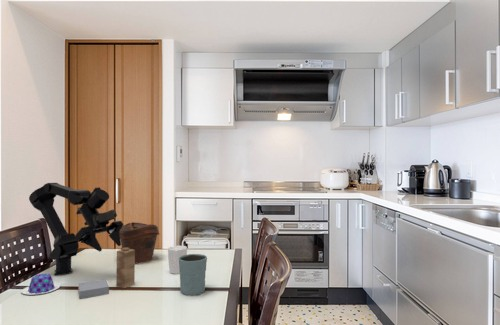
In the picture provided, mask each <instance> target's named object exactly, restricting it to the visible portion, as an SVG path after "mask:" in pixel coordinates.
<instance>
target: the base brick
mask: <svg viewBox="0 0 500 325" xmlns="http://www.w3.org/2000/svg"><path fill="white" fill-rule="evenodd" d="M109 292H110V286H109V284H108V280H107V279H106V278H103V279H98V280H89V281H84V282H78V297H79V299H88V298H93V297H99V296H104V295H109Z"/></svg>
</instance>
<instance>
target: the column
mask: <svg viewBox="0 0 500 325" xmlns="http://www.w3.org/2000/svg"><path fill="white" fill-rule="evenodd" d="M121 248H122V247H121ZM135 267H136V266H135V250H133V249H129V248H128V247H126V248H122V250H121V249H120V250H117V251H116V272H115V273H116V279H115V280H116V282H115V283H116V285H115V286H116V287H118V288H122V289H123V288H124V289H127V288H128V287H131V286H134V285H135V283H136V282H135V279H136V278H135V276H136V275H135V273H136V270H135Z"/></svg>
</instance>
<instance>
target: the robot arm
mask: <svg viewBox="0 0 500 325" xmlns="http://www.w3.org/2000/svg"><path fill="white" fill-rule="evenodd" d="M57 196H58V197H62V198H63V199H67V201H68V202H69V203H70V204H71V205H73V206H78V205H79V206H80V207H77V209H76V213H75V214H76V215H81V216H82V217H83V219H84V221H85V222H84V226H83V227H80V229H79V230H78V231H77V232H76V234H75V233H74V232H72V233H68V232H67V230H66V227H65V226H64V224H63V222H62V221H61V218H60V217H59V214H58V212H57V211H56V209H55V207H54V202H55V198H56V197H57ZM109 199H110V194H109V193H108V192H107V191H105V190H103V189H101V187H98V186H97V187H94V189H93V190H92V192H91V191H90V190H88V189H76V188H72V187H69V186H66V185H62V184H60V183H58V182H47V183H45V184H43V186H41V187H38V188H36V189H35V190H34V191H32V192H31V194H30V195H29V197H28V200H29V202H30V205H32V207H33V208H34V209H35V210H37V211H39V212H40V213H41V215H42V217H43V218H44V220H45V222H46V225H47V227H48V228H49V231H50V232H51V235H52V236H53V238H54V240H53V244H52V246H53V249H52V250H51V251H50V253H49V259H50V260H52V261H55V269H54V273H53V275H54V276H58V275H66V274H73V267H72V257H76V256H77V253H78V251H79V248H80V246H79V242H80V243H81V244H84V245H87V246H89V247H91V248H93V249H94V250H96V251H98V252H102V246H101V245H100V242H99V241H98V239H97V237H96V234H102V233H105V232H106V233H107V234H108V237H109V238H110V239H111V240H112V241H113V242H114V243H115V245H117V247H121V246H122V245H121V239H120V234H119V232H120V229H121V228H122V227H123V226H124V223H123V221H122V220H115V219H116V218H117V216H118V214H117V212H116V210H115V209H110V210H108V211H106V212H99V209H101V208H102V207H103V206H104V205H105V204H106V203H107V201H108V200H109ZM112 220H115V221H112ZM110 221H112V222H111V223H110ZM109 223H110V224H109Z"/></svg>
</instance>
